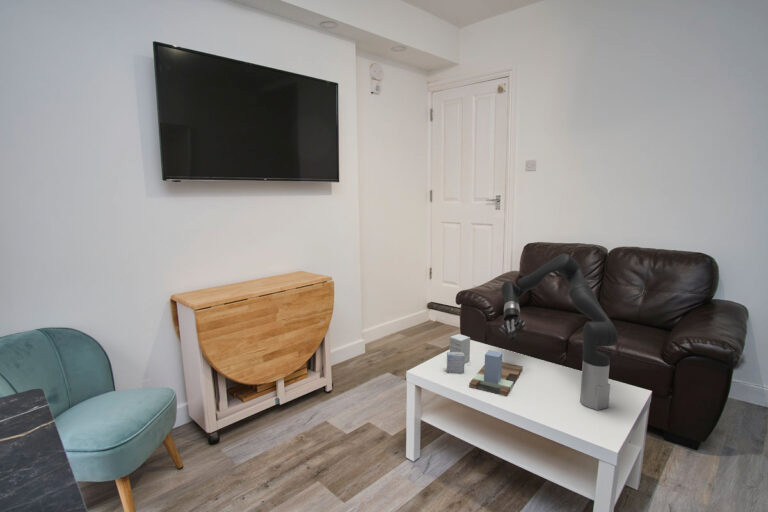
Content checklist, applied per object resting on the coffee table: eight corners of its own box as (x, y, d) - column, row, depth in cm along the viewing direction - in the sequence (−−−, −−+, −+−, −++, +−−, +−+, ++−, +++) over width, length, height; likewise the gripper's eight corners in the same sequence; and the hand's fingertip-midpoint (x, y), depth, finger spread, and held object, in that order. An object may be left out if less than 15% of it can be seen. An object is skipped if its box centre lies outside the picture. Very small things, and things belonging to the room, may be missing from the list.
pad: (477, 377, 182) (477, 373, 181) (513, 385, 174) (513, 381, 173) (472, 382, 176) (473, 378, 176) (509, 391, 169) (510, 387, 168)
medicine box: (463, 369, 190) (463, 352, 189) (464, 373, 186) (464, 355, 185) (446, 369, 191) (446, 351, 190) (447, 372, 187) (447, 355, 186)
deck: (488, 363, 198) (488, 359, 198) (522, 370, 190) (522, 366, 190) (469, 387, 172) (469, 382, 172) (507, 396, 164) (507, 391, 164)
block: (487, 375, 179) (488, 350, 177) (501, 378, 176) (502, 352, 174) (483, 380, 174) (484, 354, 172) (497, 384, 171) (499, 357, 169)
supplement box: (458, 357, 206) (459, 333, 204) (469, 361, 200) (470, 337, 198) (448, 360, 201) (449, 336, 199) (460, 365, 195) (461, 340, 194)
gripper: (495, 311, 199) (495, 337, 186) (521, 303, 192) (522, 330, 179) (502, 321, 202) (502, 348, 189) (528, 314, 195) (529, 341, 182)
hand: (512, 339), depth 184 cm, fingers closed
